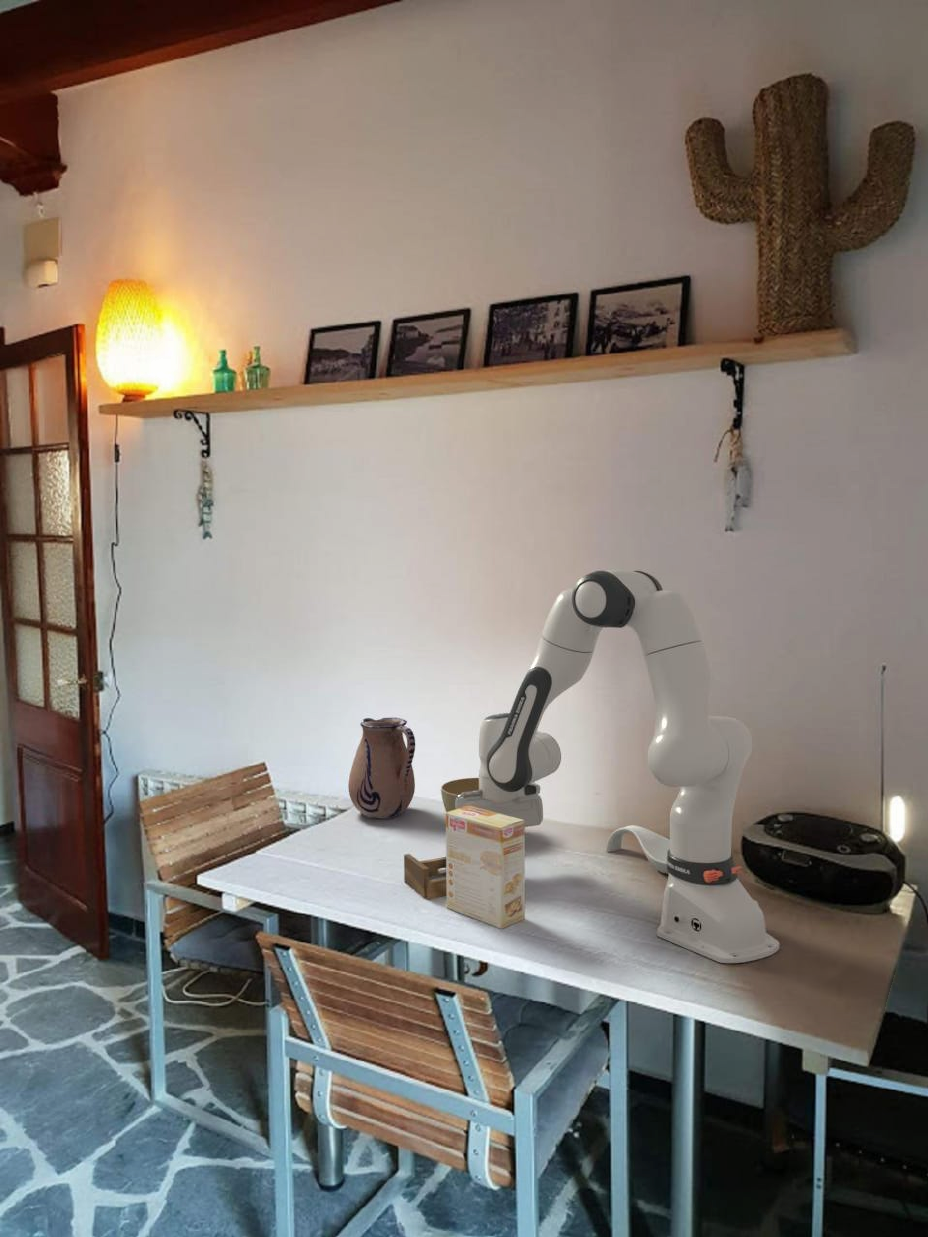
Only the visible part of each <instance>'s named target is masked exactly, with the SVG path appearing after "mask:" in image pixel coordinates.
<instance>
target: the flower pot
mask: <svg viewBox="0 0 928 1237" xmlns="http://www.w3.org/2000/svg"><path fill="white" fill-rule="evenodd" d="M476 790H479V777H466V778H457V779H453V780H449V781H447V782H445V783H443V784H442V785H441V787H440V795H441V798H442V799H441V800H442V803H443V807H444V810H445V813H446V812H449V811H452V810H456V808H455V801H456V798H457V797H458V796H459V795H461V793H463V792H471V791H476ZM461 797H462V796H461Z"/></svg>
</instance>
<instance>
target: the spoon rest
mask: <svg viewBox="0 0 928 1237" xmlns="http://www.w3.org/2000/svg"><path fill="white" fill-rule="evenodd" d="M626 833H630V834H632V835H634V836H635V838H636V839H637V841H638V843H639V845H640V847H641V849H642V850H643V852H644V855H645V857H646V858H647V860H648V861H649V862H648V863H650V865H652V867H654V869H656V870H658V872H660V873H662V874H665V873H666V874H665V875H669V872H668V871H667V861H666V860H667V852H668V850H669V849H670V838H667V837H665V836H663V835H661V834H659V833H656V832H654V831H652V830H649V829H648V828H645V827H642V826H640V825H633V824H632V825H627V826H624V827H620V828H618V829H615V830H614V831H613V832H612V833H611V834H610V836H609V837H608V839H607V843H606V845H605V846H606V847H605V851H606V852H607V853H611V852H615V851H618V850H621V849H622V842H623V841H622V840H623V835H624V834H626Z"/></svg>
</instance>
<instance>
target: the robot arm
mask: <svg viewBox="0 0 928 1237" xmlns="http://www.w3.org/2000/svg"><path fill="white" fill-rule="evenodd" d="M625 627H627V628H630V629H632V630H633V631H634V632H635V633H636V636H638V640H639V641H640V646H641V651H642V654H643V655H642V656H643V657H644V661H645V666H646V668H647V674H648V677H649V681H650V684H651V689H652V694H653V701H654V730H653V731H654V732H653V737H652V740H651V742H650V744H649V746H648V749H647V755H646V756H647V758H646V759H647V765H648V767H649V771H650V773H651V774H652V775H653V777H654V778H655V780H657V781H658V782H659V783H660V784H662V785H663V786H666V787H670V788H680V789H679V792H678V794H677V797H676V799H675V800H674V801H673V804H672V806H671V809H670V812H669V840H670V849H669V850H668V852H667V860H666V861H667V871H668V872H669V874H668V878H667V882H666V885H665V888H664V893H663V901H662V910H661V918H660V920H659V926H658V928H657V929H656V936H658V937H659V938H660V939H663V940H666V941H668V942H670V943H674V944H675V945H678V946H680V947H683V948H684V949H687V950H690V951H692V952H694V953H695V954H696V953H697V954H699V955H701V956H703V957H705V958H708V959H711V960H713V961H715V962H718V963H721V964H739V963H746V962H747V963H748V962H751V961H752V962H753V961H757V960H760V959H763V958H767V957H770V956H772V955H774V954H776V953H777V952H778V951H779V950H780V942H779V940H777V939H776V938H774V937H773V936H771V935H770V934H769V933H767V931H766V930H767V929H766V920H765V915H764V912H763V911H762V909H761V908H760V906H759V902H758V901H757V900H755V899H753V898H752V897H751V895H750V894H749V892H748V891H747V890H746V888H745V887H744V886H743V884H742V883H741V882H740V880H739V874H738V873H742V872H743V871H742V870H740V869H742V867H743V866H742V865H739V866H736V862H735V860H734V855H733V854H732V828H733V827H732V825H733V824H732V823H733V813H734V807H735V802H736V798H737V794H738V790H739V785H740V781H741V778H742V773H743V770H744V768H745V765H746V763H747V761H748V760H749V758H750V756H751V755H752V752H753V746H754V745H753V744H754V743H753V738H752V734H751V732H750V729H748V727H747V726H746V724H744V723H743V721H741V720H738V719H737V718H734V717H731V716H725V715H724V716H723V715H712V716H710V713H709V712H710V710H709V707H710V706H709V704H710V703H709V701H710V693H711V690H713V689H712V688H713V685H714V678H713V675H712V671H711V668H710V664H709V660H708V656H707V654H706V653H707V652H706V650H705V646H704V643H703V640H702V636H701V633H700V630H699V626H698V624H697V622H696V620H695V617H694V615H693V612H692V610H691V608H690V606H689V604H688V603H687V600H686V598H685V596H683V595H682V594H680V593H679V592H677V591H675V590H674V591H673V590H671V589H670V590H669V589H668V590H667V589H663V587H662V584H660V581H658V579H657V578H655V576H653V575H651V574H649V573H648V572H644V571H642V570H626V569H621V568H619V569H618V568H617V569H606V570H595V571H592V572H590V573H587V574H585V575H584V576H582V577H581V578H580V579H579V580H578V581H577V582H576V584H575V585H574V587H573V588H568V589H565V590H563V591H561V592H560V593H559V594H558V595H557V597H556V599H555V601H554V603H553V604H552V607H551V608H550V610H549V613H548V616H547V618H546V621H545V623H544V627H543V629H542V632H541V634H540V635H541V636H540V639H539V642H538V644H537V649H536V651H535V654H534V656H533V658H532V661H531V663H530V665H529V668H528V669H527V673H526V674H525V676H524V678H523V680H522V682H521V685H519V689H518V691H517V694H516V696H515V698H514V700H513V703H512V707H511V709H510V711H509V712H505V713H504V712H503V713H499V714H493V715H489V716H487V717H485V718H484V719H483V720H482V722H481V725H480V730H479V735H478V736H479V738H478V756H479V761H480V768H479V769H478V778H479V790H476V791H471V792H463V793H461V795H459V796H458V797H457V798H456V801H455V808H456V809H459V808H462V807H466V806H472V807H476V808H480V809H484V810H488V811H491V812H495V813H499V814H503V815H506V816H510V817H515V818H518V819H522V820H525V824H524V828H528V827H535V826H540V825H541V824H542V822H543V820H544V808H543V807H544V805H543V799H542V796H541V795H539V794H540V793H541V786H540V785H539V783H536V782H538V781H539V780H542V779H544V778H546V777H549V776H550V775H551V774H553V773H555V772H556V771H557V770H558V769H559V767H560V764H561V761H562V752H561V748H560V746H559V743H558V742H557V740H556V739H555V738H554V737H553V736H551V735H550V734H548V733H545V732H541V731H539V730H538V728H539V726H540V723H541V721H542V719H543V716H544V714H545V712H546V710H547V709H548V707H549V706H550V704H552V702H553V701H555V699H556V698H558V697H559V696H561V694H562V693H564V692H565V691H567V690H568V689H570V688H571V687H573V686H574V685H576V684H577V683H579V682H580V681H581V680H582V679H583V677H584V675H585V674H586V672H587V670H588V668H589V666H590V664H591V661H592V659H593V656H594V652H595V649H596V645H597V642H598V637H599V635H600V633H601V631H602V629H603V628H614V629H615V628H616V629H617V628H618V629H621V628H622V629H623V628H625ZM461 796H462V797H461Z"/></svg>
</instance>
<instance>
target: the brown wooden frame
mask: <svg viewBox="0 0 928 1237" xmlns="http://www.w3.org/2000/svg"><path fill="white" fill-rule="evenodd" d="M403 861H404V863H403V866H404V867H403V872H404V874H403V875H404V877H403V878H404V884H406V885H407V884H408V885H409V886H408V885H407V886H408V887H409V888H411V889H412V890H413V889H414V890H415V891H414V890H413V891H414V892H415V893H417V894H418V896H420V895H421V897H422V898H423V899H427V900H428V901H429V900H434V899H439V898H440V899H441V898H444V897H445V898H447V884H446V877H441V876H444V875H445V876H446V873H441V874H439V873H438V869H441V868H446V856H444V857H443V856H442V857H437V858H432V859H427V860H420V861H419V860H418V859H417V858H415V857H414V856H413V855H412V854H410V853H407V854H403ZM436 877H441V878H436ZM430 878H436V879H430Z"/></svg>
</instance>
